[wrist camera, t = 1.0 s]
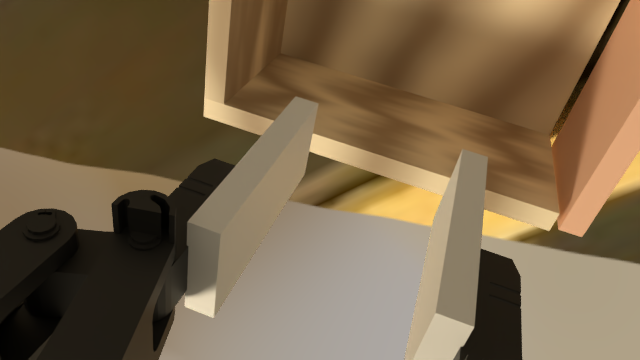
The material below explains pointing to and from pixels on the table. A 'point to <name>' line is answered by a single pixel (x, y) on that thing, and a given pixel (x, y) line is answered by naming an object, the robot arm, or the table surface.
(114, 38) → the table surface
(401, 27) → the box
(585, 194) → the tailgate
